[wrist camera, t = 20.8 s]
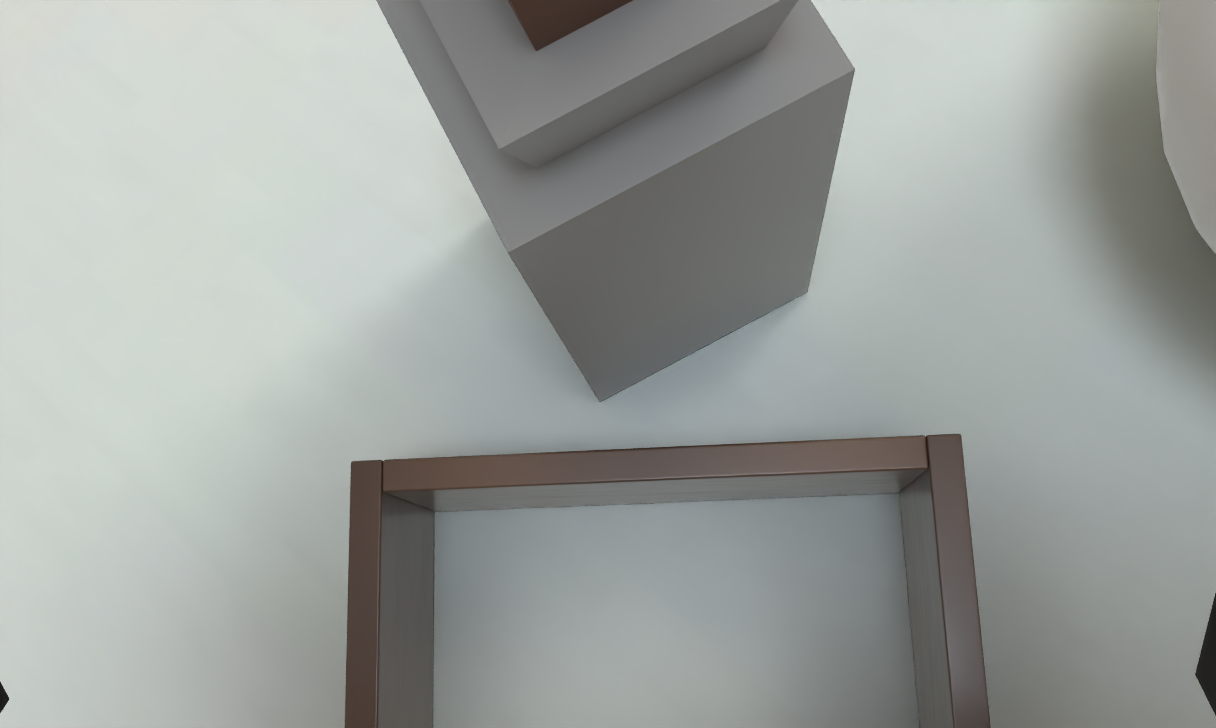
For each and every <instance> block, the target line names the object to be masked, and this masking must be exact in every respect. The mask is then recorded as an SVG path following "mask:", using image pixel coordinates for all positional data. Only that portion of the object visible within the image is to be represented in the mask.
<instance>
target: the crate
mask: <svg viewBox="0 0 1216 728" xmlns="http://www.w3.org/2000/svg"><path fill="white" fill-rule="evenodd" d="M890 493H899V495H900V506H901V518H902V529H903V541H904V552H905V563H906V575H907V586H908V598H909V609H910V621H911V632H912V644H913V655H914V667H915V678H916V690H917V701H918V712H919V724H920V728H991V726H990V717H989V707H988V697H987V687H986V677H985V667H984V657H983V647H982V637H981V627H980V617H979V607H978V598H977V588H976V578H975V568H974V558H973V548H972V538H971V528H970V518H969V508H968V498H967V489H966V479H965V469H964V459H963V449H962V439H961V435H960V434H941V435H927V436H926V437H925V436H923V435H920V436H898V437H876V438H854V439H832V440H810V441H788V442H766V443H744V444H721V445H699V446H677V447H655V448H633V449H611V450H589V451H567V452H545V453H523V454H501V455H479V456H457V457H435V458H413V459H390V460H384V461H382V460H367V461H352V462H351V485H350V528H349V571H348V614H347V658H346V701H345V728H433V603H434V511H435V512H445V511H470V510H495V509H519V508H544V507H569V506H594V505H618V504H643V503H668V502H692V501H717V500H742V499H767V498H791V497H816V496H841V495H866V494H890Z"/></svg>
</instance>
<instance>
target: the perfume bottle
mask: <svg viewBox="0 0 1216 728" xmlns="http://www.w3.org/2000/svg"><path fill="white" fill-rule="evenodd" d="M376 1H377V3H378V5H379V6H380V8H381V10H382V12H383V14H384V16H385V18H386V20H387V22H388V24H389V26H390V28H391V29H392V31H393V33H394V35H395V37H396V39H397V41H398V43H399V45H400V47H401V49H402V51H403V52H404V54H405V56H406V58H407V60H408V62H409V64H410V66H411V68H412V70H413V72H414V74H415V75H416V77H417V79H418V81H419V83H420V85H421V87H422V89H423V91H424V93H425V95H426V97H427V99H428V100H429V102H430V104H431V106H432V108H433V110H434V112H435V114H436V116H437V118H438V120H439V122H440V123H441V125H442V127H443V129H444V131H445V133H446V135H447V137H448V139H449V141H450V143H451V145H452V146H453V148H454V150H455V152H456V154H457V156H458V158H459V160H460V162H461V164H462V166H463V168H464V169H465V171H466V173H467V175H468V177H469V179H470V181H471V183H472V185H473V187H474V189H475V191H476V193H477V194H478V196H479V198H480V200H481V202H482V204H483V206H484V208H485V210H486V212H487V214H488V216H489V217H490V219H491V221H492V223H493V225H494V227H495V229H496V231H497V233H498V235H499V237H500V239H501V240H502V242H503V244H504V246H505V248H506V250H507V252H508V254H509V255H510V257H511V259H512V260H513V262H514V263H515V265H516V267H517V268H518V270H519V272H520V273H521V275H522V276H523V278H524V280H525V281H526V283H527V285H528V286H529V288H530V289H531V291H532V293H533V294H534V296H535V298H536V299H537V301H538V302H539V304H540V306H541V307H542V309H543V311H544V312H545V314H546V315H547V317H548V319H549V320H550V322H551V324H552V325H553V327H554V328H555V330H556V332H557V333H558V335H559V337H560V338H561V340H562V341H563V343H564V345H565V346H566V348H567V350H568V351H569V353H570V354H571V356H572V358H573V359H574V361H575V363H576V364H577V366H578V367H579V369H580V371H581V372H582V374H583V376H584V377H585V379H586V380H587V382H588V384H589V385H590V387H591V389H592V390H593V392H594V393H595V395H596V397H597V398H598V400H599V402H601V401H603V400H605V399H607V398H608V397H610V396H612V395H614V394H616V393H618V392H620V391H622V390H624V389H625V388H627V387H629V386H631V385H633V384H635V383H637V382H639V381H640V380H642V379H644V378H646V377H648V376H650V375H652V374H654V373H656V372H657V371H659V370H661V369H663V368H665V367H667V366H669V365H671V364H673V363H674V362H676V361H678V360H680V359H682V358H684V357H686V356H688V355H690V354H691V353H693V352H695V351H697V350H699V349H701V348H703V347H705V346H707V345H708V344H710V343H712V342H714V341H716V340H718V339H720V338H722V337H724V336H725V335H727V334H729V333H731V332H733V331H735V330H737V329H739V328H741V327H742V326H744V325H746V324H748V323H750V322H752V321H754V320H756V319H757V318H759V317H761V316H763V315H765V314H767V313H769V312H771V311H773V310H774V309H776V308H778V307H780V306H782V305H784V304H786V303H788V302H790V301H791V300H793V299H795V298H797V297H799V296H801V295H803V294H805V293H807V292H808V287H809V282H810V278H811V273H812V268H813V264H814V259H815V254H816V249H817V245H818V240H819V235H820V231H821V226H822V221H823V217H824V212H825V207H826V203H827V198H828V193H829V188H830V184H831V179H832V174H833V170H834V165H835V160H836V156H837V151H838V146H839V142H840V137H841V132H842V128H843V123H844V118H845V113H846V109H847V104H848V99H849V95H850V90H851V85H852V81H853V76H854V71H855V68H854V67H853V65H852V64H851V62H850V61H849V59H848V58H847V56H846V54H845V53H844V51H843V50H842V48H841V47H840V45H839V44H838V42H837V40H836V39H835V37H834V36H833V34H832V33H831V31H830V30H829V28H828V26H827V25H826V23H825V22H824V20H823V19H822V17H821V16H820V14H819V12H818V11H817V9H816V8H815V6H814V5H813V3H812V2H811V0H376Z"/></svg>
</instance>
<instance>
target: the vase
mask: <svg viewBox="0 0 1216 728" xmlns="http://www.w3.org/2000/svg"><path fill="white" fill-rule="evenodd" d="M1156 80H1157V89H1158V99H1159V108H1160V118H1161V128H1162V137H1163V147H1164V153H1165V155H1166V158H1167V160H1168V163H1169V165H1170V168H1171V170H1172V173H1173V175H1174V177H1175V180H1176V182H1177V185H1178V187H1179V190H1180V192H1181V195H1182V197H1183V199H1184V202H1185V204H1186V207H1187V209H1188V212H1189V214H1190V217H1191V219H1192V221H1193V224H1194V226H1195V228H1196V229H1197V231H1198V232H1199V233H1200V235H1201V236H1202V237H1203V239H1204V240H1205V241H1206V243H1207V244H1208V245H1209V247H1210V248H1211V249H1212V250H1213V252H1214V253H1215V254H1216V0H1159V20H1158V43H1157V66H1156Z"/></svg>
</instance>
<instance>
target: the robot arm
mask: <svg viewBox="0 0 1216 728" xmlns="http://www.w3.org/2000/svg"><path fill="white" fill-rule="evenodd" d="M1195 675H1196V677H1197V679H1198V681H1199V683H1200V685H1201V687H1202V689H1203V691H1204V693H1205V695H1206V697H1207V699H1208V701H1209V703H1210V705H1211V707H1212V709H1213V711H1214V713H1215V715H1216V593H1215V597H1214V601H1213V605H1212V609H1211V613H1210V617H1209V621H1208V625H1207V629H1206V633H1205V637H1204V641H1203V645H1202V649H1201V653H1200V657H1199V661H1198V665H1197V669H1196V673H1195ZM8 700H9V697H8V695H7V693H6V692H5V690H4V688H3V686H2V684H1V682H0V713H1V711H2V710H3V708H4V707H5V705H6V704H7V702H8Z"/></svg>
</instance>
